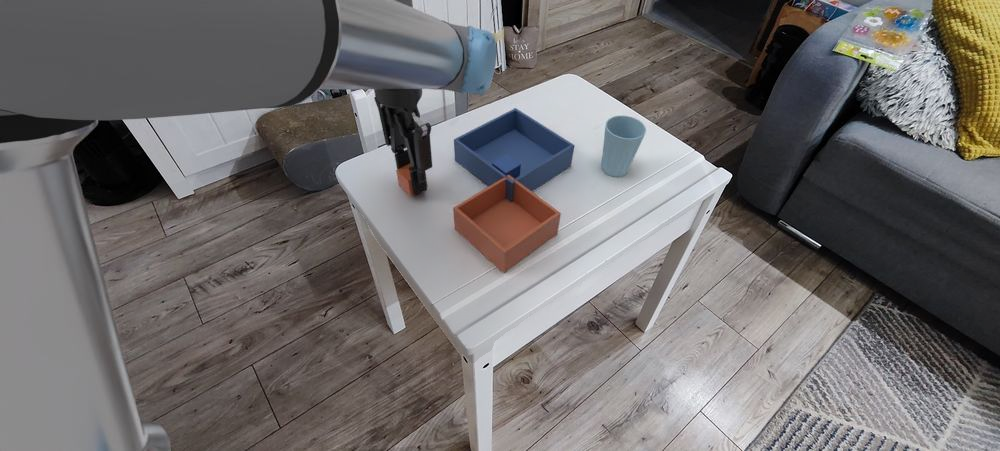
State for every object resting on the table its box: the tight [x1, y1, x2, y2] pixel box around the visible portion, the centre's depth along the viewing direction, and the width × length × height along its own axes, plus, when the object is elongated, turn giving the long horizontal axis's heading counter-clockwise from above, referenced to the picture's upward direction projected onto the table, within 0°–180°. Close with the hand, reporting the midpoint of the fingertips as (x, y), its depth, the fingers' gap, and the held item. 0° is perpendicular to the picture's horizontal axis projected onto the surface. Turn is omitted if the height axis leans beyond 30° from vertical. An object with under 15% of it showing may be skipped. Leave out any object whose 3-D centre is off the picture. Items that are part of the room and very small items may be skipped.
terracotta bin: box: [452, 175, 562, 274], centre depth 80 cm, size 13×13×6 cm
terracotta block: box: [395, 163, 428, 197], centre depth 87 cm, size 4×4×4 cm
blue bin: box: [453, 107, 575, 202], centre depth 93 cm, size 17×17×6 cm
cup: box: [600, 115, 647, 178], centre depth 91 cm, size 8×8×10 cm
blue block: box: [492, 155, 521, 179], centre depth 90 cm, size 4×4×4 cm
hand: (413, 185), depth 88 cm, fingers closed on terracotta block, 4 cm apart
